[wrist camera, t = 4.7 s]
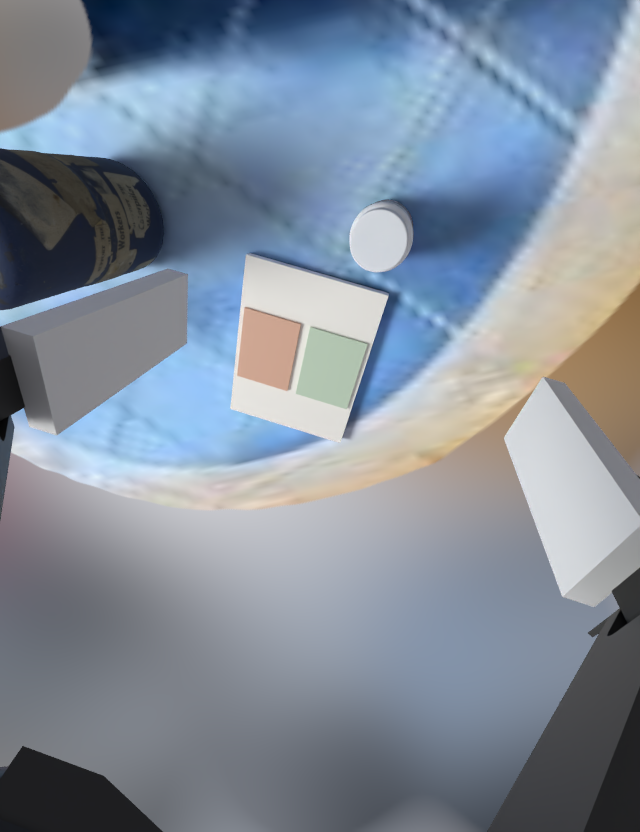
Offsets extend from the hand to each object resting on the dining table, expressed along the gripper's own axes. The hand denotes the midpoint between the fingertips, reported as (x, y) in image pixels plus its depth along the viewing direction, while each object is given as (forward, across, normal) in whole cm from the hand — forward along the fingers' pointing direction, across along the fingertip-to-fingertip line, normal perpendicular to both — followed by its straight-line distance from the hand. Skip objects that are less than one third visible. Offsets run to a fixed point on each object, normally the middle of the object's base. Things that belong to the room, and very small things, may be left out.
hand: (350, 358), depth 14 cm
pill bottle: (+24, -1, +2) cm, 24 cm away
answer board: (+24, -6, -12) cm, 27 cm away
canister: (+24, -26, -3) cm, 35 cm away
